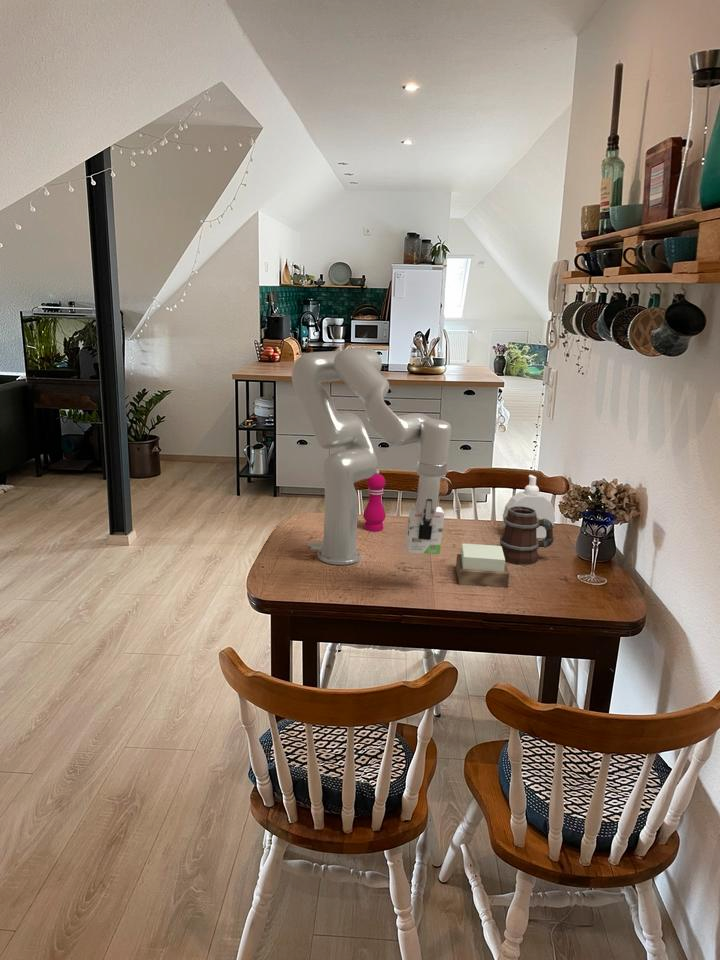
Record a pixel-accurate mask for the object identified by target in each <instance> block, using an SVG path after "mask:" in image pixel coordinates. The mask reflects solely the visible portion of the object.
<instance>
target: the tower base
mask: <svg viewBox="0 0 720 960" xmlns="http://www.w3.org/2000/svg"><path fill="white" fill-rule="evenodd" d="M455 563H456V564H455V569H456V575H457V578H458V579H457V580H458V584H459V586H472V587H473V586H474V587H486V586H490V587H489V588H502V587H504V589H505V588H506V589H508V588H509V579H510V571H509V569H508V567H507V563H505V568H504V572H496V571H482V570H468V569H463V565H462V556H461V553H457V554H456V562H455Z"/></svg>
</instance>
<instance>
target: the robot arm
mask: <svg viewBox="0 0 720 960" xmlns="http://www.w3.org/2000/svg"><path fill="white" fill-rule="evenodd" d="M382 367H383V364H382V358H381V356H380V355H379V354H378V352H377V351H376V350H374V349H372V348H369V347H355V348H354V347H353V348H352V347H351V348H347V349H343V350H334V351H332V350H331V351H313V352H308V353H305V354H301V356H299V357H297V359H296V361H295V362H294V364H293V366H292V370H291V382H292V386H293V390H294V391H295V393H296V395H297V398H298V399H299V401H300V403H301V405H302V408H303V409H304V411H305V416H306V418H307V421H308V423H309V425H310V428H311V431H312V433H313V436H314V439H315V441H316V442H317V444H318V446H319V447H321V449H322V448H323V449H326V450H329V449H330V450H331V449H337V448H344V449H343V450H338V451H336V452H335V451H334V452H332V453H331V454H329V455H328V456H327V457H325V459H323V462H322V467H321V468H322V469H321V470H322V477H323V484H324V486H323V487H324V515H323V516H324V519H323V521H324V523H323V539H322V540H320V541H319V542H318V541H309V540H308V542H307V543H308V544H307V548H308V549H311V551H318V552H317V559H318V560H320V561H322V562H323V563H326V564H331V565H334V566H335V565H337V566H340V565H341V566H346V565H352V564H355V563H357V562H359V561H361V559H362V554H361V552H360V551H359V550H358V549H357V540H358V539H357V535H358V517H359V516H358V514H359V513H358V512H359V497H358V493H357V491H356V488H355V485H354V484H355V483H357V482H360V481H365V480H367V479H368V478H370V477H372V476H373V475H374V474H375V473H376V471H377V469H378V466H379V465H378V464H379V463H378V458H377V454H376V451H375V448H374V446H373V444H372V441H371V439H370V435H369V433H368V431H367V428H366V426H365V424H364V422H363V420H362V419H361V418H360V417H359V415H356V414H355V413H352V412H341V413H339V412H338V410H337V408H336V405H335V403H334V400H333V398H332V396H331V395H330V393H329V392H328V391H327V389H325V388H324V386H322V383H328V382H329V383H330V382H338V381H342V382H344V383H345V384H346V385H347V386H348V387H349V389H350V390H351V391H352V392H353V393H354V394H356V396H357V397H358V398H359V399H360V400H361V402H363V403H364V411H365V416H366V418H367V421H368V423H369V425H370V426H371V427H372V429H373V430H374V431H375V432H376V433H377V434H378V435H379V436H380V438H381V439H382V440H384V442H386V443H388V444H389V445H391V446H394V447H402V446H407V445H410V444H416V443H418V444H419V445H418V453H417V454H418V455H417V463H416V464H417V465H416V474H417V476H418V475H419V478H418V486H417V495H416V502H415V506H416V511H417V513H418V514H419V513H422V517H421V524H420V526H419V535H418V538H419V539H424V540H430V539H431V533H432V517H433V515H434V514H436V509H437V507H438V502H439V495H440V488H441V487H440V486H441V481H442V480H441V479H442V478H445V477H446V476H447V475H446V474H447V467H448V460H449V459H448V458H449V451H450V443H451V435H452V426H451V424H450V423H449V422H448V421H446V420H442V419H436V418H435V419H434V418H433V417H430V416H428V415H426V414H424V413H420V412H418V413H417V412H416V413H415V412H414V413H410V414H407V413H406V414H403V415H397V414H396V413H395V412H394V411H393V410H392V409H390V407H389V406H388V405H387V404H386V402H385V400H384V399H385V397H386V396H387V394H388V392H389V389H390V383H389V380H388V379H386V378H385V376H383V374H381V373H380V372H381V370H382ZM424 511H426V513H424ZM424 515H425V517H424Z"/></svg>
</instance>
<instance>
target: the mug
mask: <svg viewBox="0 0 720 960" xmlns="http://www.w3.org/2000/svg"><path fill="white" fill-rule="evenodd" d="M504 523H505V527H504V529H503V533H502V534H503V535H502V536H500V538H499V546H502V550H503V554H504V557H505V563H511V564H515V565H531V564H534V563H536V562H538V560H539V552H538V549H539V548H544V549H545V548H548V547H550V546H551V545H552V544H553V543H554V541H555V537H554V531H553V530H554V525H552V523H551V522H550V521H549V520H548V519H545V518H543V519H539V518H537V515H536V511H535V510H534V509H531V508H528V507H523V506H514V507H511V508H510V509H509V510H508V514H507V516H506V517H504ZM539 526H543V527H545V529H546V537H545V538H542V539H541V540H540V539H539V538H536V528H539Z"/></svg>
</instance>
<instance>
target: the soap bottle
mask: <svg viewBox="0 0 720 960" xmlns="http://www.w3.org/2000/svg"><path fill="white" fill-rule="evenodd" d="M528 479H529V482H528V484H527V485H525V487H524V491H518V492H517V493H516V494H515V495H512V496H511V498H510V499H509V500H508V502H507V503H506V504H505V506H504V510H503V514H502V521H503V522H502V523H503V527H504V528H505V523H504V517H506V516H507V514H508V510H509V509H510V508H511V507H514V506H523V507H528V508H531V509H534V510H535V511H536V515H537V518H539V519H543V518H545V519H548V520H549V521H550V522H551V523H552V525H553V526H554V525H555V521H556V518H555V517H556V516H555V515H556V514H555V508H554V507H553V504H552V502H551V501H550V500H549V499H548V498H546V497H545V495H543V494H542V493H540V488H539V486H538V485H537V476H535V475H533V474H529V475H528ZM545 537H546V529H545V527H543V526H539V528H536V539H545Z"/></svg>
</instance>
